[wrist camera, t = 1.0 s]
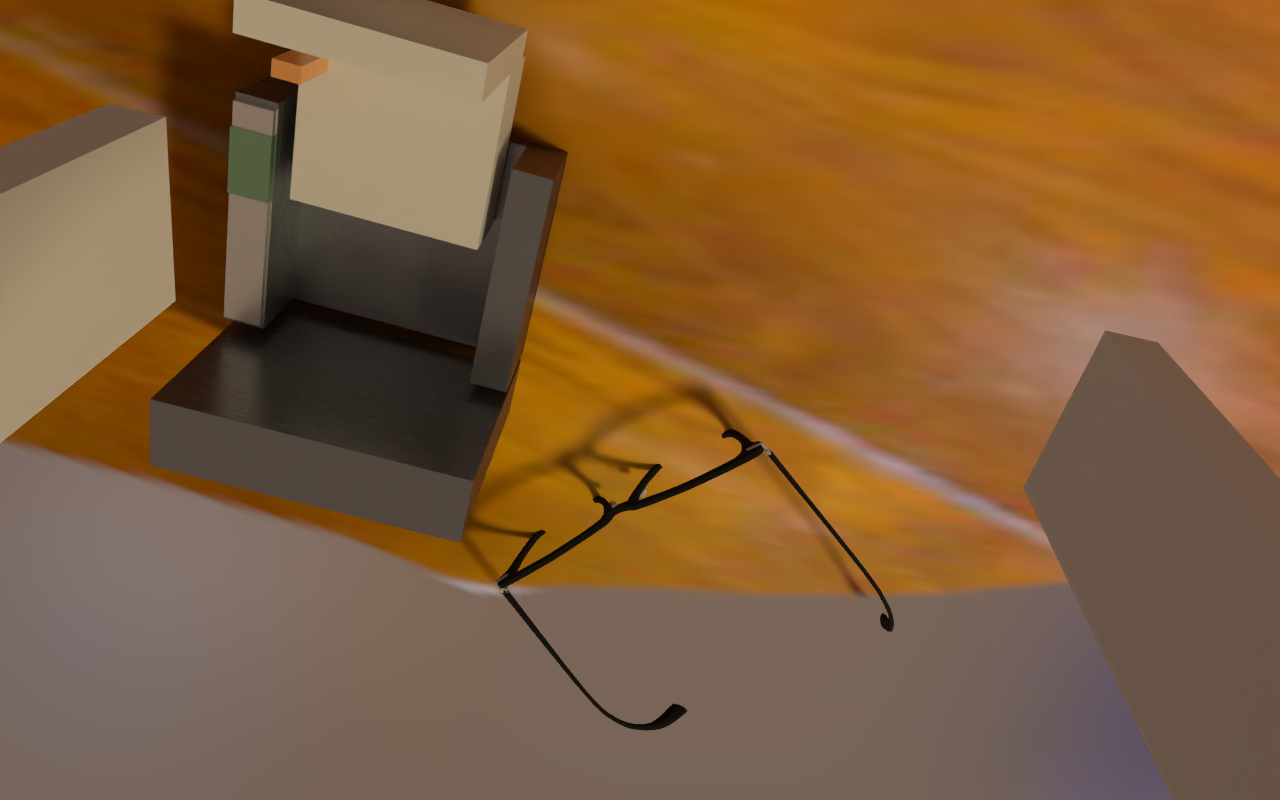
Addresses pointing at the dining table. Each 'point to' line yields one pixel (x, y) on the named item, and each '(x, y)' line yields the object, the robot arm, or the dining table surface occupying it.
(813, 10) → the dining table surface
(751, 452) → the eyeglasses
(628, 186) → the dining table surface
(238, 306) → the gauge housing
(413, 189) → the beige angular block
